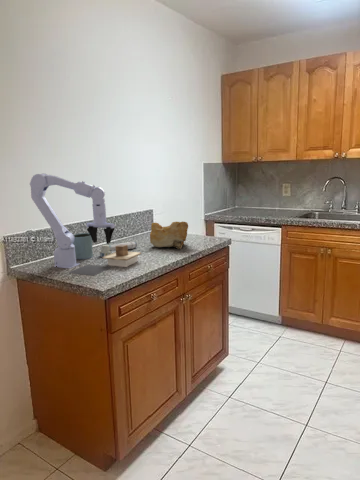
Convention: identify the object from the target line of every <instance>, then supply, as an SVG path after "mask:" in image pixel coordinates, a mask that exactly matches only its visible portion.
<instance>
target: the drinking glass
mask: <svg viewBox="0 0 360 480" xmlns="http://www.w3.org/2000/svg"><path fill="white" fill-rule="evenodd" d="M73 235H74V237H75V240H74V242H73V245H74V246H75V255H76V260H86V259H91V258H93V257H94V255H93V254H94V253H93V252H94V251H93V240H92V238H91V235H90V233H89V232H82V233H75V234H73Z"/></svg>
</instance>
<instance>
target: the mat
mask: <svg viewBox="0 0 360 480" xmlns="http://www.w3.org/2000/svg"><path fill="white" fill-rule="evenodd" d="M111 268H113V267H112V266H109V265H107V266H105V265H97V264H85V265H82V266H81V267H78V268H76V269H73V270H71V271H69V273H68V274H72V273H73V274H72V275H74V274H75V275H82V276H83V275H84V276H89V277H90V276H91V277H94V276H97V275H99V274H101V273H103V272H106V271H108V270H109V269H111Z"/></svg>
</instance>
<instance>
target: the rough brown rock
mask: <svg viewBox="0 0 360 480" xmlns="http://www.w3.org/2000/svg"><path fill="white" fill-rule="evenodd" d="M188 229H189V223H188V222H186V221H173V222H171V224H169V225H167V226H162V225H161V224H160V223H158V222H152V223H151V227H150V233H149V242H150V244H151V245H152V246H154V247H156V248H171V247H174V248H175V249H179V250H181V249H182V248H183V246H185V242H186V240H187V237H188V236H187V235H188Z"/></svg>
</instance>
